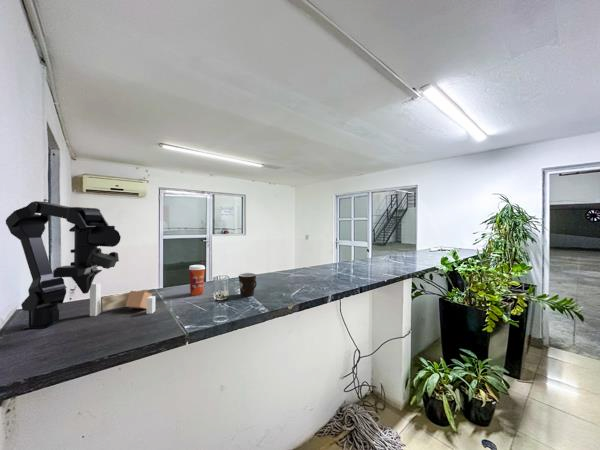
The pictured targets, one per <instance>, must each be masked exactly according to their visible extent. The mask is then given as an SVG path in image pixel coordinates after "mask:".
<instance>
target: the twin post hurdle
mask: <svg viewBox="0 0 600 450" xmlns="http://www.w3.org/2000/svg"><path fill="white" fill-rule="evenodd" d="M154 312H156V295H152V296H150V297H148V298H147V309H146V315H148V314H150V315H151V314H154ZM101 313H102V282H100V281H96V282H92V284H91V287H90V289H89V317H97V316H99V315H100V314H101Z"/></svg>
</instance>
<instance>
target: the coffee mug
mask: <svg viewBox="0 0 600 450" xmlns="http://www.w3.org/2000/svg"><path fill="white" fill-rule="evenodd" d="M256 279H257V274H256V273H253V272H244V273H239V274H238V282H239V283H238V284H239V293H240V294H239V295H240V297H245V298H249V297H253V296H254V293H255V289H256V288H257V281H256Z"/></svg>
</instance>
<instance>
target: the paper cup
mask: <svg viewBox="0 0 600 450" xmlns="http://www.w3.org/2000/svg"><path fill="white" fill-rule="evenodd" d="M205 270H206V266H205V265H204V264H193V265H192V264H191V265H189V268H188V272H189V291H190V292H189V293H190V296H200V295H203V293H204V284H205V283H204V281H205V280H204V279H205Z"/></svg>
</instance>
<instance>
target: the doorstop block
mask: <svg viewBox="0 0 600 450" xmlns="http://www.w3.org/2000/svg"><path fill="white" fill-rule="evenodd" d="M129 292H130V294H129V297H128V300H127V302H126V305H125V306H124V307H125V308H126V307H127V308H131V309H138V308H139V310H140V309H141V310H142V309H143V310H147V298H148V297H150V296H153V294H152V293H150V292H149V291H148V292H145V291H140V290H130V291H129Z"/></svg>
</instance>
